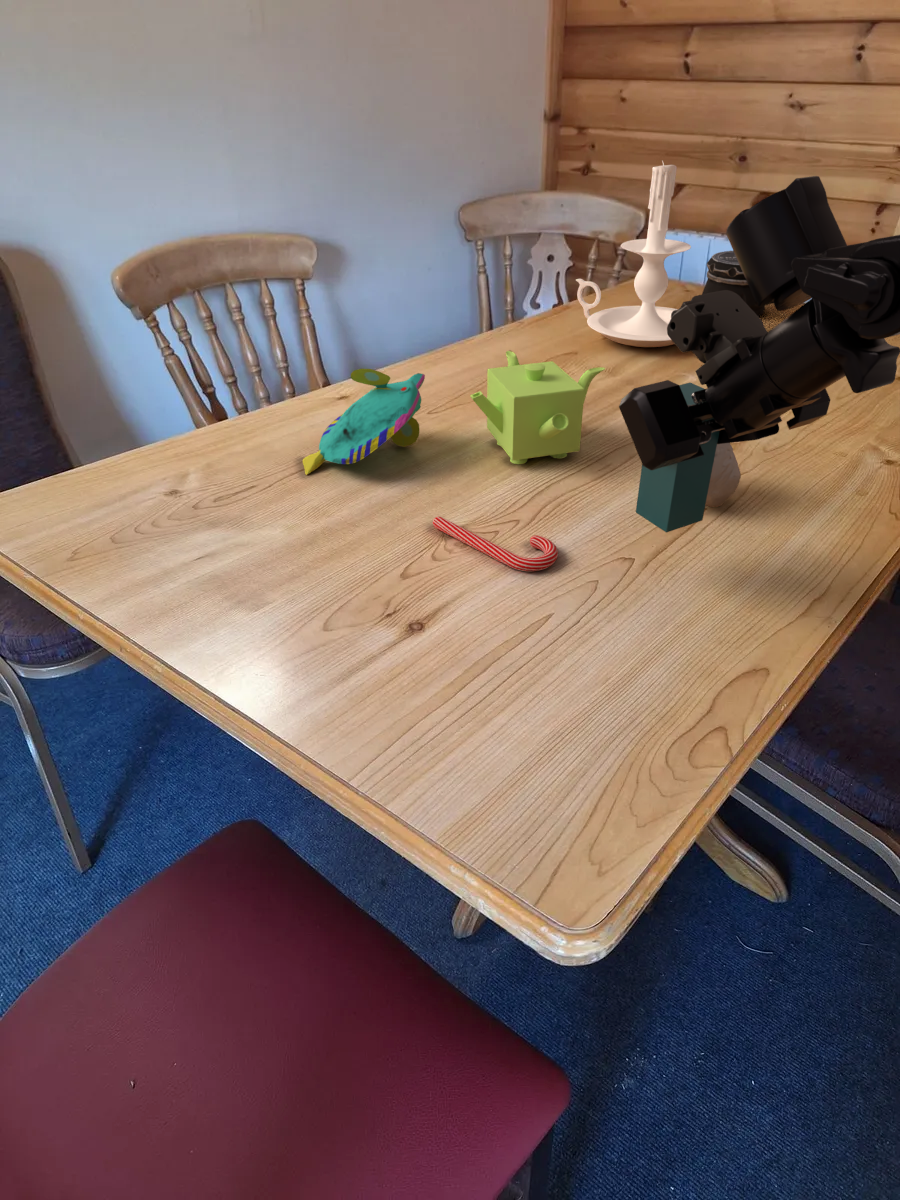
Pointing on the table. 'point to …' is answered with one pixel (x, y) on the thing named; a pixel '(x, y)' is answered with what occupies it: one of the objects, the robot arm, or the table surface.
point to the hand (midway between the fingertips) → (668, 447)
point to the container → (729, 279)
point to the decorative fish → (371, 420)
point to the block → (678, 484)
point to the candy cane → (499, 552)
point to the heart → (723, 476)
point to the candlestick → (643, 276)
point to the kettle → (534, 408)
